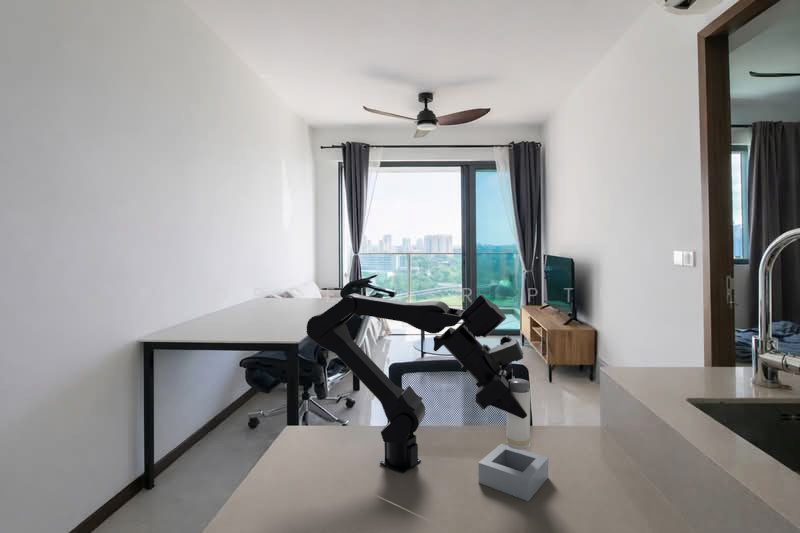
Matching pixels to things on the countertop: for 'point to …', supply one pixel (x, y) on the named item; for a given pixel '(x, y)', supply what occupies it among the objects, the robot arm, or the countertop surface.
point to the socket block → (513, 471)
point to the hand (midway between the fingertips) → (525, 412)
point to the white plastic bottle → (515, 425)
